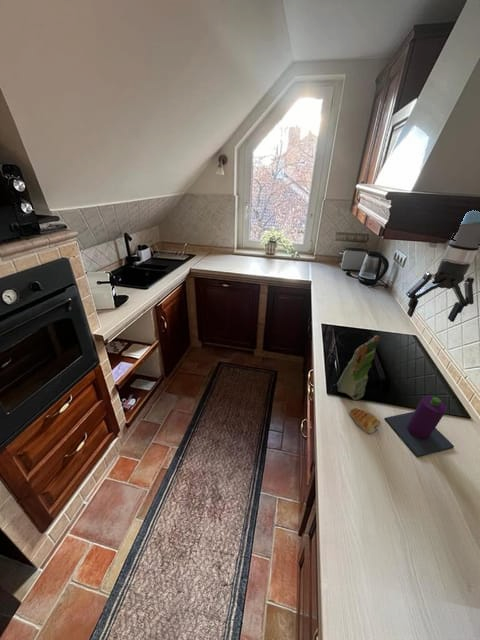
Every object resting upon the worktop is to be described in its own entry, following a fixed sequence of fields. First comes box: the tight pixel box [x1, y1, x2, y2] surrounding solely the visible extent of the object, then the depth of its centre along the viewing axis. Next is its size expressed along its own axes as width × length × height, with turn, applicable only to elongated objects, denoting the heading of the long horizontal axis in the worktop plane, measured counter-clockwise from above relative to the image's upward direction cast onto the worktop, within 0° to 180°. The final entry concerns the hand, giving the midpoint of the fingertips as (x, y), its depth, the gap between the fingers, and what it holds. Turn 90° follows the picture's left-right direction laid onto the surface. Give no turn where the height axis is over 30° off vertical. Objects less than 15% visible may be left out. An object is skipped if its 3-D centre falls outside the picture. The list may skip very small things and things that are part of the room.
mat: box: [384, 410, 455, 458], centre depth 84 cm, size 14×14×1 cm
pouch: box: [336, 334, 381, 401], centre depth 93 cm, size 11×12×25 cm
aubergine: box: [407, 395, 448, 440], centre depth 80 cm, size 6×6×15 cm
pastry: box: [350, 407, 381, 435], centre depth 86 cm, size 9×7×4 cm
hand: (429, 317), depth 93 cm, fingers open, 13 cm apart
